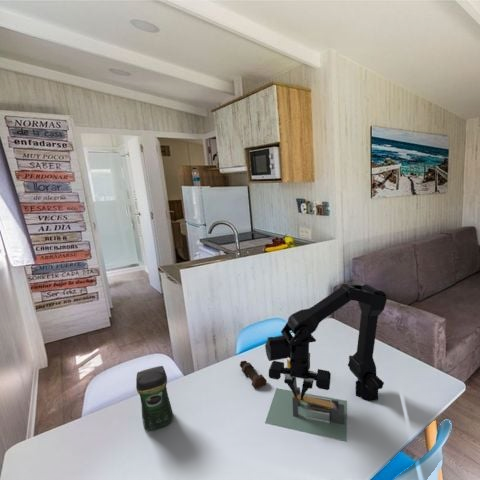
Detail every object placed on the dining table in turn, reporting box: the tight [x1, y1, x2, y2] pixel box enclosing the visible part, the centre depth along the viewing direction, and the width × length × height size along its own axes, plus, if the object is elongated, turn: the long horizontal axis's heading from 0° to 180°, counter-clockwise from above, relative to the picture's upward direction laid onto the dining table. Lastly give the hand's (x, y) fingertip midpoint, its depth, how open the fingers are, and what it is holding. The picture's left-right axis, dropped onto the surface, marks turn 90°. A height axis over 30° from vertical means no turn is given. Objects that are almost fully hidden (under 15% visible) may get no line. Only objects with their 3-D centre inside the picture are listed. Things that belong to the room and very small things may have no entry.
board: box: [264, 387, 348, 442], centre depth 94 cm, size 24×16×1 cm, turn 70°
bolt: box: [239, 360, 268, 390], centre depth 113 cm, size 6×5×15 cm
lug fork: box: [292, 386, 301, 417], centre depth 95 cm, size 2×6×6 cm, turn 160°
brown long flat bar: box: [292, 394, 337, 409], centre depth 92 cm, size 14×3×1 cm, turn 70°
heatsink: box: [306, 395, 331, 425], centre depth 93 cm, size 7×7×3 cm
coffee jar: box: [135, 365, 174, 432], centre depth 95 cm, size 10×8×19 cm
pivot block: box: [331, 400, 344, 425], centre depth 90 cm, size 4×4×4 cm
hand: (299, 397), depth 94 cm, fingers closed on brown long flat bar
